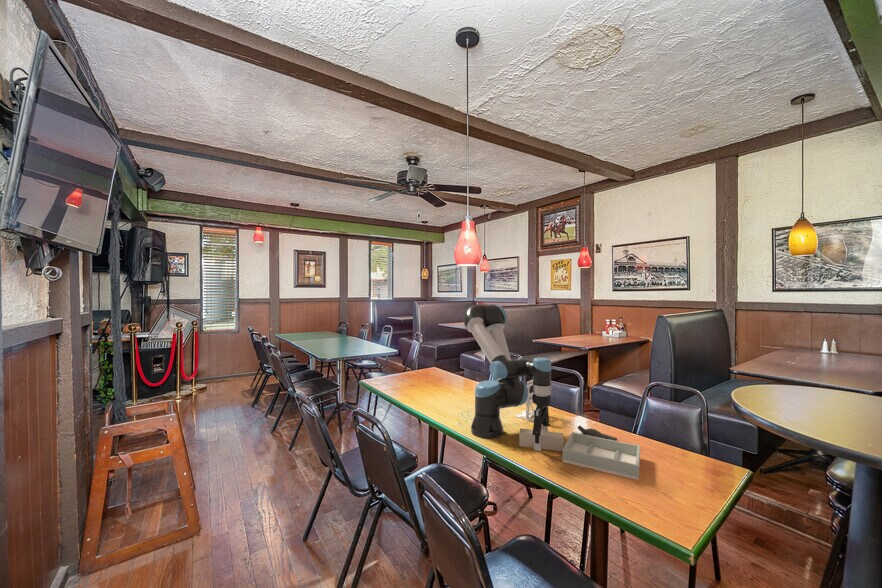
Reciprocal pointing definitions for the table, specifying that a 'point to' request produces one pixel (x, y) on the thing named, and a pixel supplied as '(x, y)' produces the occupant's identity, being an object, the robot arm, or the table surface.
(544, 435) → the beige rectangular block
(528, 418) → the film strip holder
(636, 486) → the table surface
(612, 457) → the divided grey tray
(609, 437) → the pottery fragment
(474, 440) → the table surface
